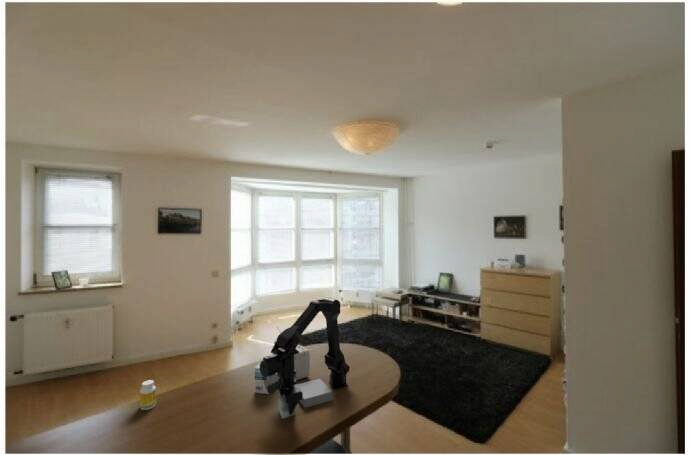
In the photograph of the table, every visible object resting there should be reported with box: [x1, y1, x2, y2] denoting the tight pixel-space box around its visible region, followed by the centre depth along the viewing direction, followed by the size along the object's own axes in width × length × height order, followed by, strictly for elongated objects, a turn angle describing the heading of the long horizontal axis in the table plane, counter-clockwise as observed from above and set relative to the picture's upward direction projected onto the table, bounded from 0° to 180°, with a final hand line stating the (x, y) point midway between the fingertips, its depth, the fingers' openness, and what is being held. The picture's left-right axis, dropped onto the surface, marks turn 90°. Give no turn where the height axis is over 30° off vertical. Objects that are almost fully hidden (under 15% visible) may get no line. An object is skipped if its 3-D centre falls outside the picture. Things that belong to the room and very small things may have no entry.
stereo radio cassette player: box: [273, 327, 311, 382], centre depth 156 cm, size 21×8×20 cm, turn 40°
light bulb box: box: [254, 362, 274, 395], centre depth 142 cm, size 11×7×11 cm, turn 168°
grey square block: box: [293, 378, 333, 409], centre depth 135 cm, size 12×12×4 cm
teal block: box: [277, 395, 296, 419], centre depth 123 cm, size 5×5×6 cm
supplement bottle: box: [139, 379, 157, 411], centre depth 127 cm, size 5×5×10 cm
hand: (286, 407), depth 124 cm, fingers open, 9 cm apart
